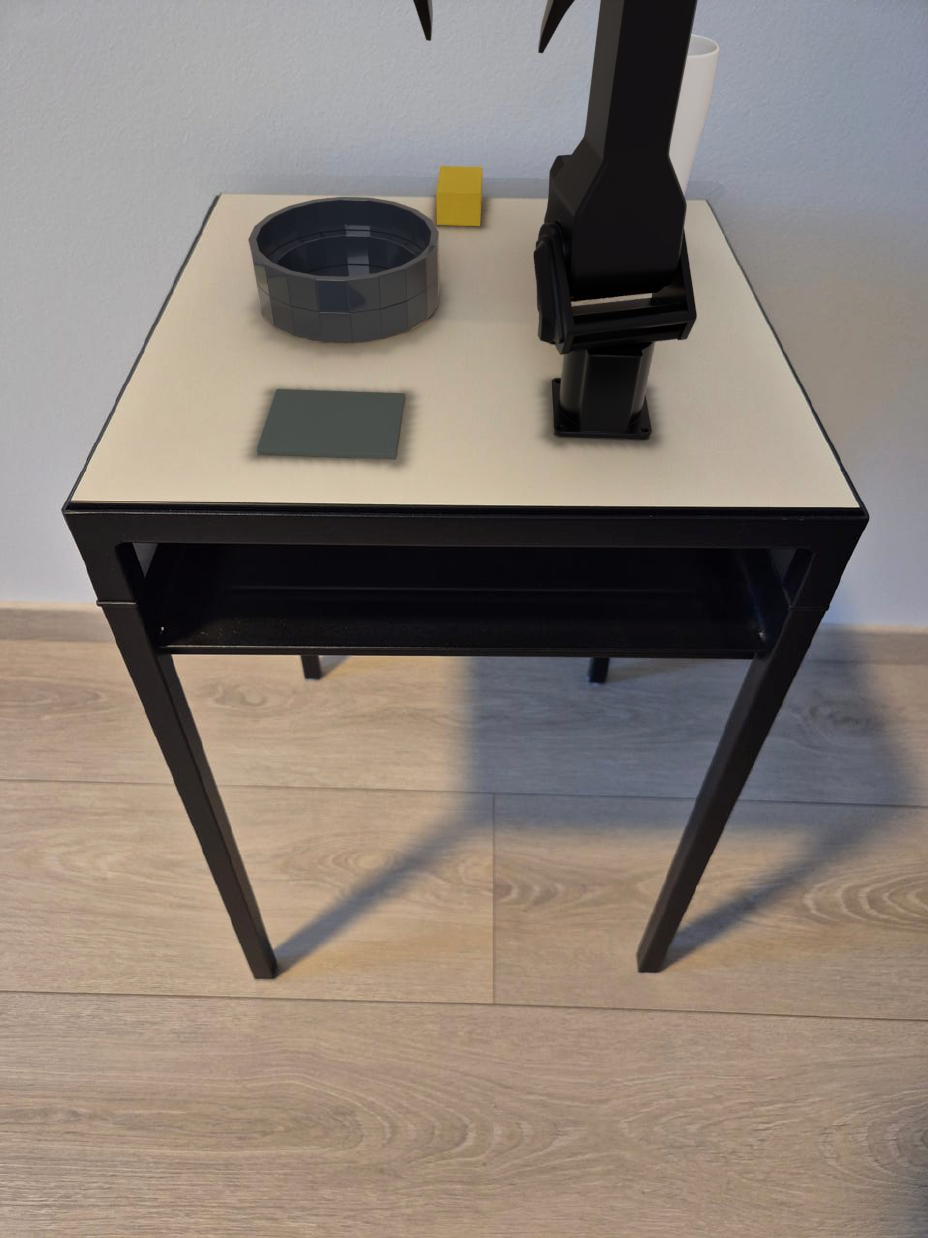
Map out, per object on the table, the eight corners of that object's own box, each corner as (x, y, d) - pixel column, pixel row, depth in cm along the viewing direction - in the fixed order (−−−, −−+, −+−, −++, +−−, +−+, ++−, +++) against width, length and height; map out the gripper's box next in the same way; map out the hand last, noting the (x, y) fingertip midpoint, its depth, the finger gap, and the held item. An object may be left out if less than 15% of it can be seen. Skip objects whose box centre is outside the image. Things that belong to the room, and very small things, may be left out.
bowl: (433, 353, 64) (432, 282, 60) (244, 347, 65) (230, 276, 61) (443, 265, 74) (443, 199, 70) (278, 260, 74) (269, 193, 70)
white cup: (681, 256, 76) (721, 59, 64) (604, 248, 76) (630, 52, 65) (683, 223, 80) (721, 34, 69) (610, 216, 81) (636, 28, 70)
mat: (395, 459, 56) (395, 454, 55) (257, 454, 56) (256, 449, 56) (405, 397, 60) (404, 392, 60) (277, 393, 61) (276, 388, 60)
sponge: (480, 226, 79) (480, 192, 77) (436, 225, 79) (436, 191, 77) (481, 199, 83) (482, 166, 81) (440, 198, 83) (440, 165, 81)
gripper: (642, -239, 61) (596, 2, 75) (378, -271, 60) (381, -22, 74) (648, -166, 56) (598, 78, 70) (360, -202, 55) (367, 53, 69)
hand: (484, 43), depth 71 cm, fingers open, 9 cm apart
